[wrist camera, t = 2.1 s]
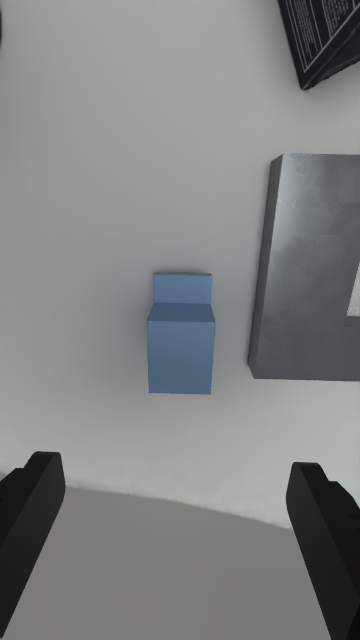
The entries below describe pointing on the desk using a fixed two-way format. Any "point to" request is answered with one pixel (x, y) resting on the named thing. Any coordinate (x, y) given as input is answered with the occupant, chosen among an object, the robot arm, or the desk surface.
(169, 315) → the block
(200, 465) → the desk surface
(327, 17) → the small box
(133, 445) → the desk surface
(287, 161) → the plate
